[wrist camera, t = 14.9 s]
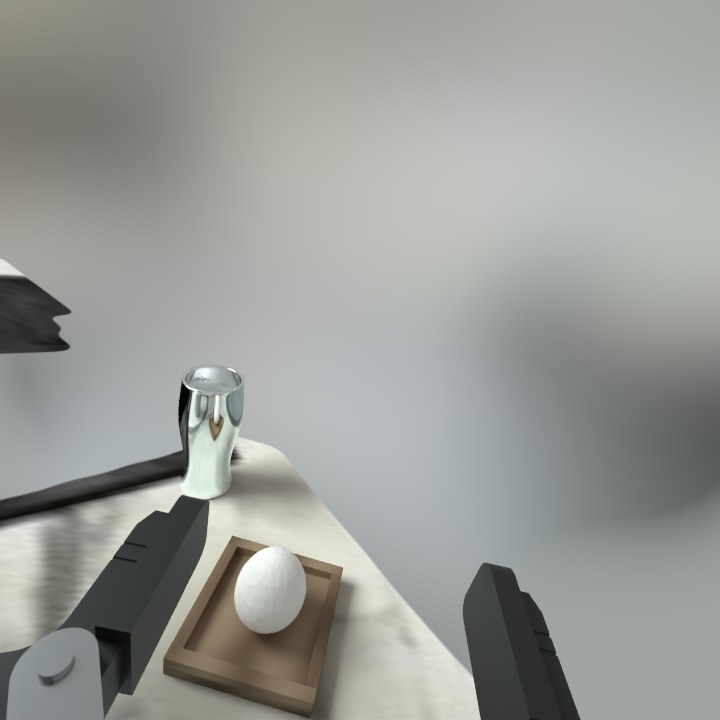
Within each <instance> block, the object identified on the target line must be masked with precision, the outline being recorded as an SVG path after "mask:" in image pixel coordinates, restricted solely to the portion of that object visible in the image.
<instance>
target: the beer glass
mask: <svg viewBox="0 0 720 720" xmlns="http://www.w3.org/2000/svg"><path fill="white" fill-rule="evenodd" d="M181 380H182V381H181V389H180V396H179V406H178V423H179V430H180V437H181V442H182V447H183V452H184V467H183V471H182V474H181V478H180V488H181V490H182V492H183V493H184V494H185V495H187V496H190V497H194V498H199V499H203V500H207V499H212V498H216V497H218V496H220V495H222V494H224V493H225V492H226V491H227V490H228V489H229V487H230V485H231V481H232V476H231V469H230V459H231V454H232V451H233V448H234V445H235V442H236V439H237V436H238V433H239V429H240V425H241V421H242V414H243V402H244V378H243V376H242V375H241V374H240V373H239V372H238V371H236V370H234V369H231V368H229V367H224V366H218V365H202V366H197V367H193V368H191V369H189V370H187V371H186V372H185V373H184V374H183V375H182V378H181Z"/></svg>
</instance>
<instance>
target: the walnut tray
mask: <svg viewBox="0 0 720 720" xmlns="http://www.w3.org/2000/svg"><path fill="white" fill-rule="evenodd" d="M268 547H270V546H266V545H263V544H259V543H256V542H252V541H249V540H245V539H242V538H238V537H235V536H232V537H231V539H230V541H229V543H228V544H227V546H226V548H225V550H224V552H223V553H222V555H221V557H220V559H219V560H218V562H217V564H216V566H215V568H214V569H213V571H212V573H211V575H210V576H209V578H208V580H207V582H206V584H205V585H204V587H203V589H202V591H201V592H200V594H199V596H198V598H197V600H196V601H195V603H194V605H193V607H192V608H191V610H190V612H189V614H188V616H187V617H186V619H185V621H184V623H183V624H182V626H181V628H180V630H179V632H178V633H177V635H176V637H175V639H174V641H173V642H172V644H171V646H170V648H169V649H168V651H167V653H166V655H165V657H164V662H163V673H164V674H168V675H171V676H174V677H177V678H181V679H184V680H187V681H190V682H194V683H197V684H200V685H203V686H207V687H210V688H213V689H216V690H219V691H223V692H226V693H229V694H232V695H236V696H239V697H242V698H245V699H249V700H252V701H255V702H258V703H262V704H265V705H268V706H271V707H275V708H278V709H281V710H284V711H287V712H291V713H294V714H297V715H300V716H304V717H307V718H310V715H311V712H312V709H313V705H314V701H315V696H316V692H317V687H318V682H319V678H320V673H321V668H322V664H323V659H324V654H325V650H326V645H327V640H328V636H329V631H330V627H331V622H332V617H333V613H334V608H335V603H336V599H337V594H338V589H339V585H340V580H341V575H342V571H343V567H339V566H336V565H332V564H329V563H325V562H322V561H318V560H315V559H311V558H308V557H304V556H301V555H297V554H294V553H293V554H294V555H296V556H297V558H298V559H299V561H300V563H301V565H302V567H303V569H304V572H305V576H306V594H305V598H304V602H303V605H302V608H301V610H300V611H299V613H298V615H297V617H296V618H295V619H294V620H293V621H292V622H291V623H290V625H288V626H287V627H285V628H284V629H282V630H280V631H278V632H275V633H269V634H262V633H257V632H254V631H252V630H250V629H249V628H248V627H246V626H245V625H244V624H243V623H242V621H241V620H240V618H239V616H238V614H237V612H236V608H235V602H234V594H235V586H236V582H237V579H238V576H239V574H240V572H241V570H242V568H243V566H244V565H245V564H246V563H247V562H248V560H249V559H250V558H251V557H252V556H253V555H255V554H256V553H257V552H259V551H261V550H262V549H264V548H268Z"/></svg>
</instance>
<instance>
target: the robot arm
mask: <svg viewBox="0 0 720 720" xmlns="http://www.w3.org/2000/svg"><path fill="white" fill-rule="evenodd" d="M208 515H209V501H208V500H203V499H199V498H194V497H190V496H185V495H182V496H180V497H179V499H178V500H177V501H176V503H175V505H174V506H173V508H172V509H171V511H170V512H169V513H165V512H161V511H154V512H153V513H152V514H150V515H149V516H147V517H146V518H145V519H143V520H142V521H141V522H139V523H138V524H137V525H136V526H135V528H134V529H133V530H132V532H131V533H130V535H129V536H128V537H127V539H126V540H125V542H124V544H123V545H121V547H120V548H119V550H118V551H117V552H116V554H115V555H114V557H113V559H112V560H110V562H109V563H108V565H107V566H106V567H105V569H104V570H103V571H102V573H101V574H100V575H99V577H98V578H97V580H96V581H95V582H94V584H93V585H92V586H91V588H90V589H89V591H88V592H87V593H86V595H85V596H84V597H83V599H82V600H81V601H80V603H79V604H78V606H77V607H76V608H75V610H74V611H73V612H72V614H71V615H70V616H69V618H68V619H67V620H66V621H65V622H64V623H63V624H62V625H61V626H60V627H59V628H58V629H57V630H56V631H55V632H53V633H50V634H48V635H47V636H45V637H43V638H41V639H40V640H39V641H37V642H36V643H34V644H33V645H31V646H29V647H26V648H23V649H20V650H16V651H11V652H5V653H0V720H104V719H105V717H106V715H107V713H108V711H109V709H110V707H111V705H112V703H113V702H114V700H115V698H116V696H117V694H118V693H122V694H127V695H132V694H133V692H134V690H135V688H136V686H137V684H138V682H139V680H140V678H141V676H142V674H143V672H144V670H145V668H146V666H147V664H148V662H149V660H150V658H151V656H152V654H153V652H154V650H155V648H156V646H157V644H158V642H159V640H160V638H161V636H162V634H163V632H164V630H165V628H166V626H167V624H168V622H169V620H170V618H171V616H172V614H173V612H174V610H175V608H176V606H177V604H178V602H179V600H180V598H181V596H182V594H183V592H184V590H185V588H186V586H187V584H188V582H189V580H190V578H191V576H192V574H193V572H194V570H195V568H196V566H197V564H198V562H199V560H200V557H201V555H202V552H203V549H204V546H205V542H206V536H207V525H208ZM463 620H464V625H465V631H466V637H467V643H468V648H469V654H470V659H471V665H472V671H473V677H474V683H475V689H476V694H477V700H478V706H479V712H480V717H481V720H580V717H579V715H578V712H577V709H576V706H575V703H574V701H573V698H572V695H571V692H570V690H569V687H568V684H567V681H566V678H565V676H564V673H563V670H562V667H561V664H560V662H559V659H558V657H557V656H556V651H555V648H554V645H553V642H552V640H551V638H549V631H548V629H547V626H546V623H545V620H544V617H543V614H542V612H541V611H540V609H539V608H538V607H537V605H536V603H535V602H534V601H533V599H532V598H531V596H530V595H529V593H526V592H521V591H520V589H519V586H518V584H517V580H516V577H515V574H514V572H513V571H512V569H510V568H506V567H502V566H498V565H493V564H489V563H483V564H482V565H481V567H480V569H479V571H478V572H477V574H476V576H475V578H474V580H473V582H472V584H471V586H470V588H469V590H468V592H467V593H466V596H465V599H464V604H463Z"/></svg>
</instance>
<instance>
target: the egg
mask: <svg viewBox="0 0 720 720" xmlns="http://www.w3.org/2000/svg"><path fill="white" fill-rule="evenodd" d="M305 594H306V576H305V572H304V569H303V567H302V565H301V563H300V561H299V559H298V558H297V556H296V555H294V554H293V553H292V552H291V551H290V550H288V549H286V548H284V547H280V546H272V547H268V548H264V549H262V550H261V551H259V552H257V553H256V554H255V555H253V556H252V557H251V558H250V559H249V560H248V562H247V563H246V564H245V565H244V566H243V568H242V570H241V572H240V574H239V576H238V579H237V582H236V586H235V594H234V602H235V608H236V612H237V614H238V616H239V618H240V620H241V621H242V623H243V624H244V625H245V626H246V627H248V628H249V629H250V630H252V631H254V632H257V633H262V634H269V633H275V632H278V631H280V630H282V629H284V628H285V627H287V626H288V625H290V623H291V622H292V621H293V620H294V619H295V618H296V617H297V615H298V613H299V611H300V610H301V608H302V605H303V602H304V598H305Z"/></svg>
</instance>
